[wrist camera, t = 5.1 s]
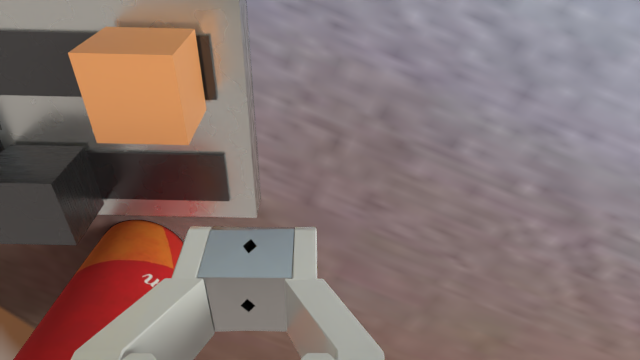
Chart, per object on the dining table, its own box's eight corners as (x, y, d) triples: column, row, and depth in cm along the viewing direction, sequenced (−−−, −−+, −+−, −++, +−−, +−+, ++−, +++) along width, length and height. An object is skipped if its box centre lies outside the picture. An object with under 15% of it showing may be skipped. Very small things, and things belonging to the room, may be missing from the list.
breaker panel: (260, 197, 28) (248, 261, 23) (14, 192, 28) (-48, 256, 23) (244, -18, 20) (221, 13, 16) (-92, -26, 20) (-216, 2, 16)
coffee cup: (186, 300, 34) (110, 539, 22) (79, 269, 32) (-73, 512, 20) (219, 229, 30) (146, 477, 17) (96, 188, 28) (-84, 435, 15)
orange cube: (206, 109, 22) (188, 145, 19) (126, 107, 22) (97, 143, 19) (194, 28, 19) (172, 55, 16) (105, 26, 19) (67, 52, 16)
